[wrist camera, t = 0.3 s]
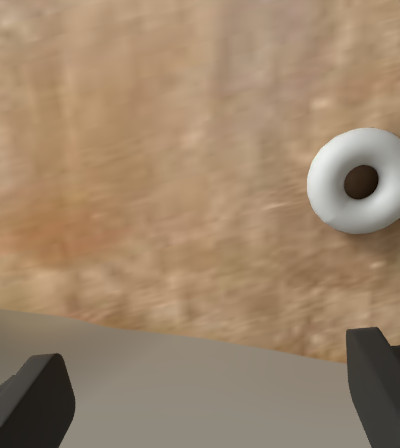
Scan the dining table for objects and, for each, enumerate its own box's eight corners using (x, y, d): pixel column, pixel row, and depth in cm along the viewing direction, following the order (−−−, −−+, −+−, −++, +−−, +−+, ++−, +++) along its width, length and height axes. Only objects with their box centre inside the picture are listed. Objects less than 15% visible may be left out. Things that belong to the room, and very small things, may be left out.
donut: (429, 151, 35) (333, 109, 35) (450, 155, 32) (345, 109, 32) (374, 242, 38) (285, 205, 38) (388, 255, 35) (291, 214, 35)
